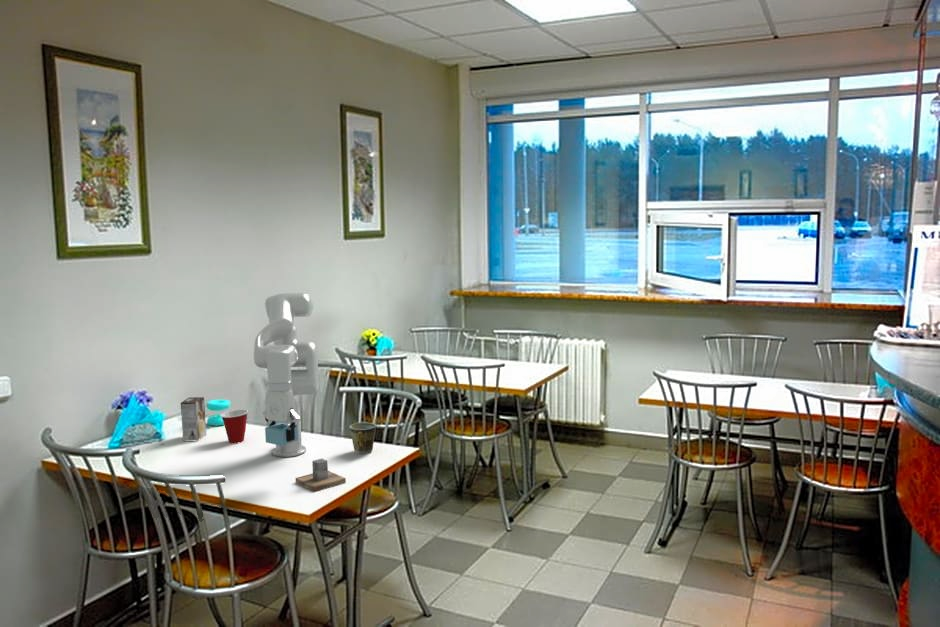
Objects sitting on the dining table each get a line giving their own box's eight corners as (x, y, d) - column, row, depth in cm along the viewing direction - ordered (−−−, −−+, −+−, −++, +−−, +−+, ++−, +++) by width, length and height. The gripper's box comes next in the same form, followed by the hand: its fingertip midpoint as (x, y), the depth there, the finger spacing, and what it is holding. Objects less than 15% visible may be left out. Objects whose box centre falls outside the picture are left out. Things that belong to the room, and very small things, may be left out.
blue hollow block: (265, 442, 248) (265, 427, 247) (282, 436, 254) (281, 422, 253) (281, 445, 244) (280, 430, 243) (298, 440, 250) (297, 425, 249)
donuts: (201, 403, 321) (212, 398, 331) (203, 426, 322) (213, 420, 332) (223, 404, 320) (234, 398, 329) (225, 427, 321) (235, 420, 331)
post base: (295, 482, 252) (294, 460, 251) (326, 473, 260) (325, 453, 259) (314, 491, 244) (313, 469, 243) (345, 482, 252) (345, 460, 251)
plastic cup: (227, 437, 306) (225, 408, 304) (253, 437, 305) (252, 408, 304) (217, 445, 295) (215, 415, 293) (244, 445, 294) (243, 415, 293)
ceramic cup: (353, 447, 291) (352, 422, 289) (378, 447, 290) (378, 422, 289) (346, 458, 278) (345, 431, 276) (373, 458, 277) (372, 431, 276)
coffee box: (191, 435, 309) (189, 396, 307) (206, 434, 309) (204, 396, 307) (182, 441, 300) (180, 402, 298) (198, 441, 300) (196, 402, 298)
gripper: (252, 385, 248) (255, 437, 250) (290, 391, 239) (292, 445, 241) (270, 381, 254) (272, 432, 256) (307, 387, 245) (309, 440, 247)
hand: (282, 438), depth 249 cm, fingers closed on blue hollow block, 7 cm apart
